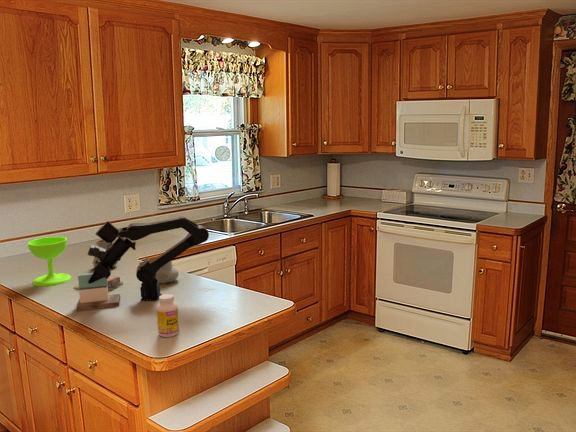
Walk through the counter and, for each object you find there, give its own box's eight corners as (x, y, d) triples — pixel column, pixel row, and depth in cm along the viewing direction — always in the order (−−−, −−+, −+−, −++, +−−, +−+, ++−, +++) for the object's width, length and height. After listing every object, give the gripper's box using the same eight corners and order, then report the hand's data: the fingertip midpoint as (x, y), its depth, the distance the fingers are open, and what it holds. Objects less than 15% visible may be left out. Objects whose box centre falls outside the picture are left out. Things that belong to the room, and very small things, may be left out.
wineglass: (54, 273, 252) (49, 235, 249) (79, 277, 245) (75, 238, 242) (24, 283, 238) (18, 243, 234) (50, 288, 231) (45, 246, 227)
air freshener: (181, 279, 238) (180, 256, 236) (173, 285, 230) (171, 262, 228) (159, 277, 240) (157, 255, 239) (149, 283, 233) (147, 261, 231)
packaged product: (123, 273, 233) (109, 281, 223) (124, 284, 234) (110, 292, 224) (87, 271, 238) (72, 278, 229) (88, 282, 239) (73, 289, 230)
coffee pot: (90, 267, 261) (87, 236, 258) (114, 262, 267) (112, 232, 264) (102, 277, 243) (98, 245, 240) (127, 272, 249) (124, 240, 246)
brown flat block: (120, 297, 216) (119, 293, 216) (119, 305, 207) (118, 302, 207) (80, 301, 213) (79, 298, 213) (76, 310, 203) (76, 306, 203)
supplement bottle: (166, 339, 175) (163, 301, 172) (154, 334, 179) (151, 297, 177) (183, 332, 180) (180, 295, 177) (171, 328, 184) (168, 291, 182)
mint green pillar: (107, 283, 211) (106, 271, 210) (107, 285, 208) (105, 273, 207) (80, 286, 208) (78, 274, 207) (79, 288, 206) (77, 275, 205)
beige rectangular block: (108, 297, 212) (107, 284, 211) (108, 300, 209) (106, 286, 208) (81, 300, 209) (79, 287, 208) (80, 303, 207) (78, 289, 206)
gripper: (101, 232, 214) (74, 262, 214) (97, 243, 197) (68, 275, 196) (124, 250, 218) (97, 279, 217) (122, 262, 200) (93, 294, 200)
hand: (89, 281), depth 207 cm, fingers closed on mint green pillar, 2 cm apart
